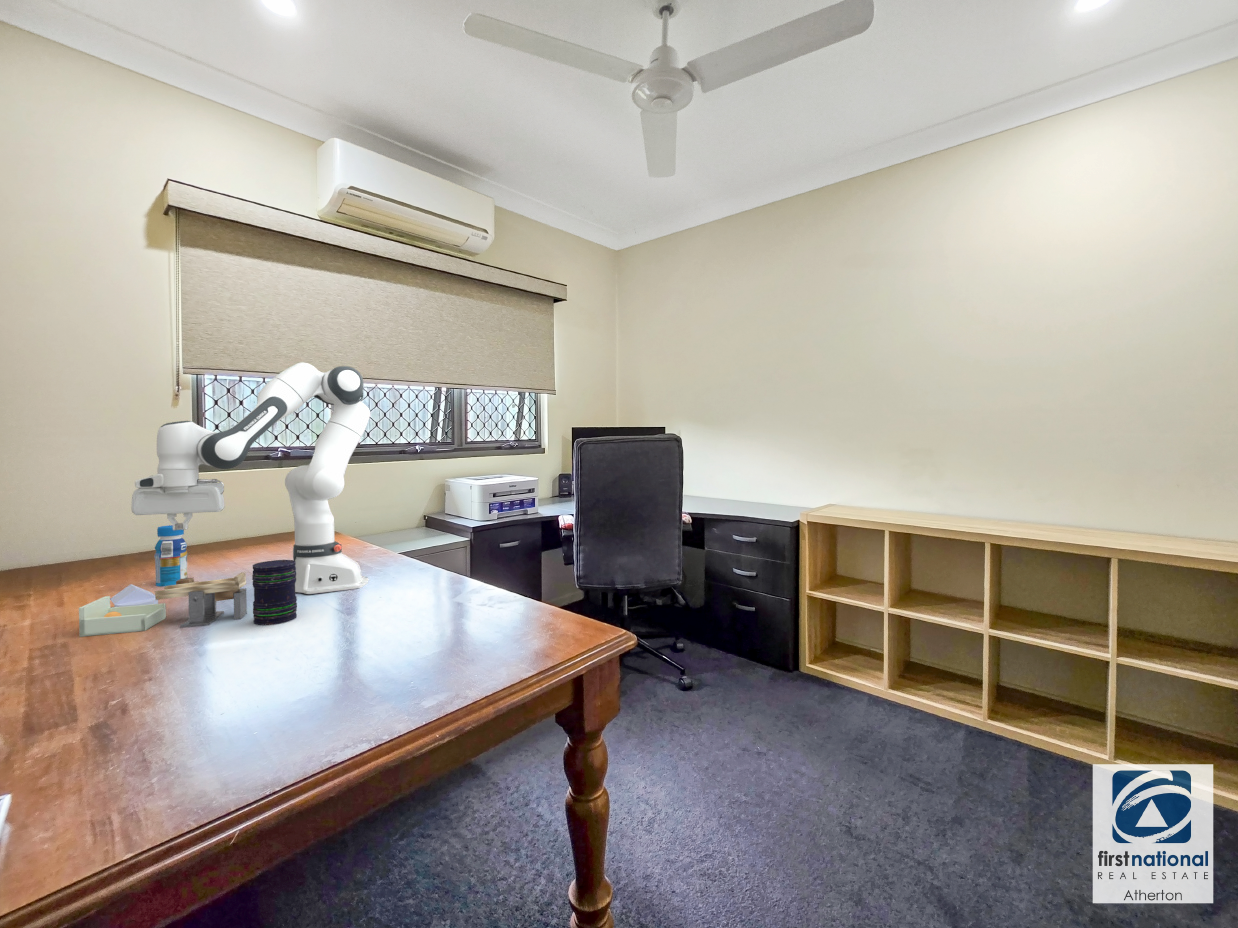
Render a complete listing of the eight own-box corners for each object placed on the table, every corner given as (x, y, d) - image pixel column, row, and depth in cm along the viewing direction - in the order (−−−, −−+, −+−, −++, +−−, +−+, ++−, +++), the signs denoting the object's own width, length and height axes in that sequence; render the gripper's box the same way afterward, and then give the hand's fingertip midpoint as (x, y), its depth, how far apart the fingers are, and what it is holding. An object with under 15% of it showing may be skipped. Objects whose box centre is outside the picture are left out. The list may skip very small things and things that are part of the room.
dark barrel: (275, 626, 137) (274, 568, 136) (243, 624, 139) (242, 566, 138) (306, 614, 146) (305, 560, 146) (275, 612, 148) (274, 559, 148)
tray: (165, 617, 144) (165, 591, 144) (145, 630, 134) (144, 602, 134) (105, 623, 140) (105, 596, 140) (79, 636, 130) (78, 607, 129)
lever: (257, 585, 156) (255, 565, 156) (239, 598, 142) (237, 576, 142) (182, 594, 151) (180, 574, 150) (156, 609, 136) (154, 586, 136)
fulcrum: (250, 610, 150) (249, 580, 150) (236, 622, 140) (236, 589, 140) (198, 615, 146) (197, 583, 146) (180, 627, 136) (179, 593, 136)
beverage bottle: (148, 588, 176) (147, 527, 175) (176, 582, 184) (175, 524, 183) (167, 590, 173) (165, 528, 173) (194, 584, 181) (193, 524, 181)
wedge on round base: (109, 610, 151) (117, 620, 142) (109, 587, 151) (116, 594, 142) (151, 603, 158) (161, 612, 149) (151, 581, 157) (161, 588, 149)
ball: (123, 608, 138) (105, 612, 137) (115, 611, 135) (97, 616, 134) (126, 621, 138) (109, 625, 137) (119, 625, 135) (101, 629, 134)
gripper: (227, 478, 155) (229, 525, 155) (139, 480, 148) (141, 530, 148) (219, 479, 149) (221, 528, 149) (127, 481, 142) (129, 533, 142)
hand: (180, 529), depth 149 cm, fingers closed
